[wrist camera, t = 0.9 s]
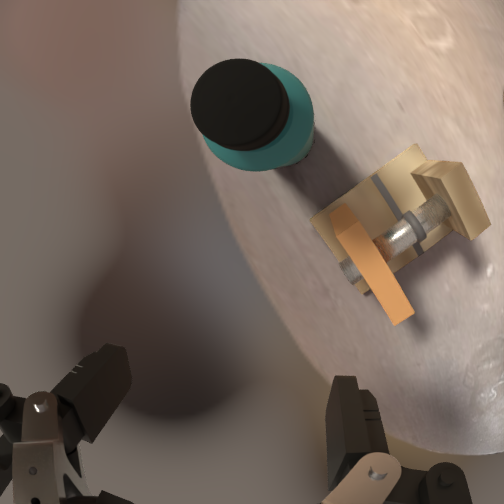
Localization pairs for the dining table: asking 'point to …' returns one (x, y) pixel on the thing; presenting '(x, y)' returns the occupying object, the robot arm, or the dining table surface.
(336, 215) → the collar
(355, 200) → the pipe stand
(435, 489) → the robot arm
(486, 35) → the dining table surface
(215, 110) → the beverage bottle
